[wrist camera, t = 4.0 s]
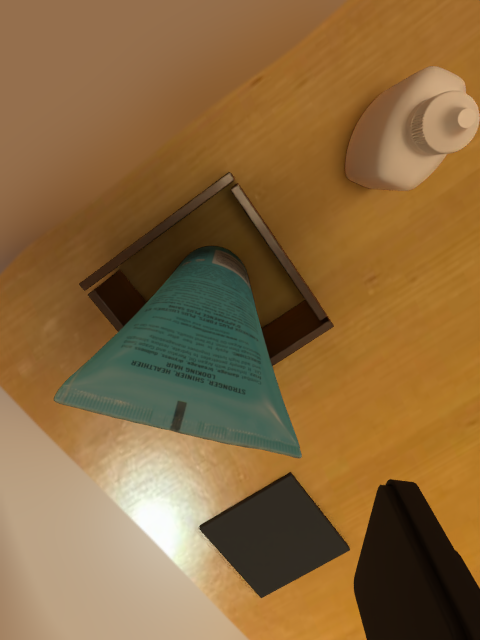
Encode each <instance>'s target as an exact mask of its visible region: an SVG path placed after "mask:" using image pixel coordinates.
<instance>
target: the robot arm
mask: <svg viewBox="0 0 480 640" xmlns="http://www.w3.org/2000/svg"><path fill="white" fill-rule="evenodd" d="M354 593H355V597H356V601H357V605H358V608H359V612H360V616H361V619H362V623H363V627H364V630H365V634H366V638H367V640H480V588H479V587H478V585H477V583H476V582H475V580H474V578H473V576H472V575H471V573H470V571H469V570H468V568H467V566H466V564H465V563H464V561H463V559H462V558H461V556H460V555H459V554H458V552H457V551H455V550H454V548H453V546H452V545H451V543H450V541H449V539H448V538H447V536H446V534H445V532H444V531H443V529H442V527H441V525H440V524H439V522H438V520H437V518H436V517H435V515H434V513H433V511H432V510H431V508H430V506H429V505H428V503H427V501H426V499H425V498H424V496H423V494H422V492H421V491H420V489H419V487H418V486H417V484H416V483H414V482H407V481H399V480H391V479H390V480H388V481H387V483H386V485H380V486H379V487H378V490H377V494H376V497H375V501H374V505H373V509H372V512H371V516H370V520H369V524H368V527H367V531H366V535H365V539H364V542H363V546H362V550H361V554H360V557H359V561H358V565H357V569H356V572H355V577H354Z"/></svg>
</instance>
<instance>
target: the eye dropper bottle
mask: <svg viewBox="0 0 480 640" xmlns="http://www.w3.org/2000/svg"><path fill="white" fill-rule="evenodd" d="M479 118H480V117H479V110H478V107H477V105H476V102H474V100H473V99H472V97H470V95H469V96H468V94H466V87H465V83H464V81H463V80H462V79H461V78H460V77H459V76H457V75H455V74H453V73H451V72H449V71H447V70H445V69H443V68H440V67H436V66H430V67H427V68H425V69H423V70H421V71H419V72H417V73H415V74H413V75H411V76H410V77H408V78H406V79H404V80H403V81H401V82H399V83H398V84H396V85H394V86H392V87H391V88H389V89H387V90H386V91H384V92H382V93H381V94H380V95H379V96H378V97H377V98H376V99H375V100H374V101H373V102H372V103H371V104H370V105H369V107H368V108H367V109H366V110H365V112H364V113H363V115H362V116H361V118H360V119H359V121H358V123H357V125H356V127H355V129H354V131H353V133H352V136H351V139H350V142H349V145H348V149H347V154H346V161H345V173H346V176H347V178H348V179H349V180H351V181H353V182H355V183H357V184H359V185H362V186H364V187H367V188H371V189H382V190H397V191H408V190H411V189H413V188H415V187H417V186H418V185H419V184H421V183H422V182H423V181H424V180H425V179H426V178H427V177H428V176H430V175H431V174H432V172H433V171H434V170H435V169H436V168H437V167H438V166H439V165H440V163H441V162H442V161H443V159H444V158H445V156H446V155H447V154H449V153H454V152H457V151H458V150H460V149H463V147H465V146H466V145H468V143H469V142H470V141H471V140H472V139H473V137H474V135H475V134H476V131H477V128H478V125H479V121H480V120H479Z"/></svg>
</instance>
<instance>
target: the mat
mask: <svg viewBox="0 0 480 640" xmlns="http://www.w3.org/2000/svg"><path fill="white" fill-rule="evenodd" d="M200 530H201V531H202V533H203V534H204V535H205V536H206V537H207V538H208V539H209V540H210V542H211V543H212V544H213V545H214V546H215V547H216V548H217V549H218V550H219V552H220V553H221V554H222V555H223V556H224V557H225V558H226V559H227V560H228V562H229V563H230V564H231V565H232V566H233V567H234V568H235V569H236V571H237V572H238V573H239V574H240V575H241V576H242V577H243V578H244V579H245V581H246V582H247V583H248V584H249V585H250V586H251V587H252V588H253V590H254V591H255V592H256V593H257V594H258V595H259V596H260V597H261V598H263V597H264V596H266V595H268V594H270V593H272V592H274V591H276V590H277V589H279V588H281V587H283V586H285V585H287V584H288V583H290V582H292V581H294V580H296V579H298V578H299V577H301V576H303V575H305V574H307V573H309V572H311V571H312V570H314V569H316V568H318V567H320V566H322V565H323V564H325V563H327V562H329V561H331V560H333V559H335V558H336V557H338V556H340V555H342V554H344V553H346V552H347V551H349V550H350V548H349V546H348V545H347V544H346V542H345V541H344V540H343V538H342V537H341V536H340V535H339V533H338V532H337V531H336V530H335V528H334V527H333V526H332V524H331V523H330V522H329V521H328V519H327V518H326V517H325V516H324V514H323V513H322V512H321V510H320V509H319V508H318V507H317V505H316V504H315V503H314V502H313V500H312V499H311V498H310V496H309V495H308V494H307V493H306V491H305V490H304V489H303V488H302V486H301V485H300V484H299V482H298V481H297V480H296V479H295V477H294V476H293V475H292V474H291V473H289V474H287V475H285V476H284V477H282V478H280V479H278V480H277V481H275V482H273V483H272V484H270V485H268V486H267V487H265V488H263V489H262V490H260V491H258V492H256V493H255V494H253V495H251V496H250V497H248V498H246V499H245V500H243V501H241V502H240V503H238V504H236V505H234V506H233V507H231V508H229V509H228V510H226V511H224V512H223V513H221V514H219V515H218V516H216V517H214V518H212V519H211V520H209V521H207V522H206V523H204V524H202V525H201V526H200Z"/></svg>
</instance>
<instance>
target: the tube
mask: <svg viewBox="0 0 480 640" xmlns="http://www.w3.org/2000/svg"><path fill="white" fill-rule="evenodd" d="M54 401H55V402H57V403H60V404H62V405H67V406H71V407H75V408H79V409H83V410H87V411H91V412H94V413H98V414H103V415H107V416H110V417H114V418H118V419H123V420H127V421H131V422H134V423H139V424H144V425H149V426H153V427H157V428H161V429H166V430H171V431H174V432H178V433H182V434H186V435H191V436H195V437H200V438H203V439H208V440H213V441H217V442H221V443H225V444H231V445H237V446H242V447H246V448H255V449H262V450H266V451H270V452H274V453H278V454H284V455H288V456H291V457H295V458H301V457H302V455H301V451H300V447H299V443H298V440H297V437H296V434H295V432H294V429H293V426H292V424H291V421H290V418H289V415H288V413H287V410H286V407H285V404H284V402H283V399H282V396H281V393H280V390H279V386H278V383H277V380H276V377H275V374H274V370H273V367H272V364H271V361H270V357H269V354H268V351H267V347H266V344H265V340H264V337H263V333H262V329H261V326H260V322H259V318H258V315H257V311H256V307H255V303H254V299H253V295H252V290H251V286H250V282H249V278H248V274H247V271H246V268H245V266H244V264H243V263H242V261H241V260H240V259H239V258H238V256H236V255H235V254H234V253H233V252H231V251H229V250H228V249H225V248H222V247H218V246H206V247H202V248H199V249H196V250H194V251H193V252H191V253H190V254H189V255H188V256H187V257H186V258H185V259H184V260H183V261H182V262H181V264H180V265H179V266H178V267H177V268H176V270H175V271H174V272H173V273H172V275H171V276H170V277H169V278H168V279H167V280H166V282H165V283H164V284H163V285H162V286H161V287H160V289H159V290H158V291H157V292H156V293H155V294H154V295H153V296H152V297H151V298H150V300H149V301H148V302H147V303H146V304H145V305H144V306H143V307H142V308H141V309H140V310H139V311H138V312H137V314H136V315H135V316H134V317H133V318H132V319H131V320H130V321H129V322H128V323H127V324H126V325H125V326H124V327H123V328H122V329H121V330H120V331H119V332H118V333H117V334H116V335H115V336H114V337H113V338H112V339H111V340H110V341H108V342H107V343H106V344H105V345H104V346H103V347H102V348H101V349H100V350H99V351H98V352H97V353H96V354H95V355H94V356H93V357H92V358H91V359H90V360H88V361H87V362H86V363H85V364H84V365H83V366H82V367H80V368H79V369H78V370H77V371H76V372H75V373H74V374H73V375H72V376H70V377H69V378H68V379H67V380H66V381H65V382H64V383H63V385H62V386H61V387H60V388H59V390H58V391H57V393H56V395H55V397H54Z"/></svg>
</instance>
